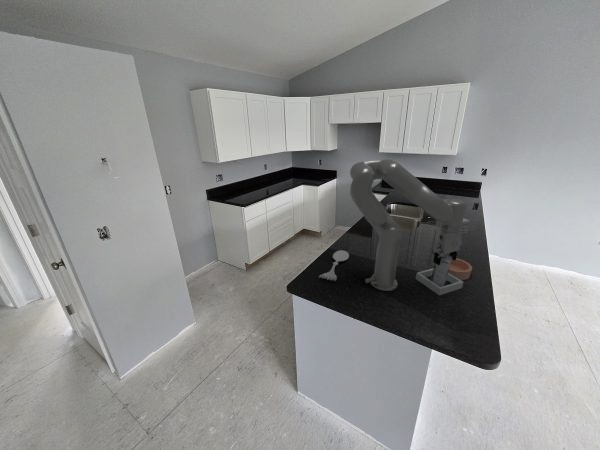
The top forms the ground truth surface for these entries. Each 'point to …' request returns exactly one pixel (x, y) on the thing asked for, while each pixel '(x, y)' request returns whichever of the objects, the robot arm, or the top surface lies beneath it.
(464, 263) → the bowl
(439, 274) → the syrup box
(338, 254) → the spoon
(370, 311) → the top surface
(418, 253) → the top surface
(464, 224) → the supplement box
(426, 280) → the parts tray
